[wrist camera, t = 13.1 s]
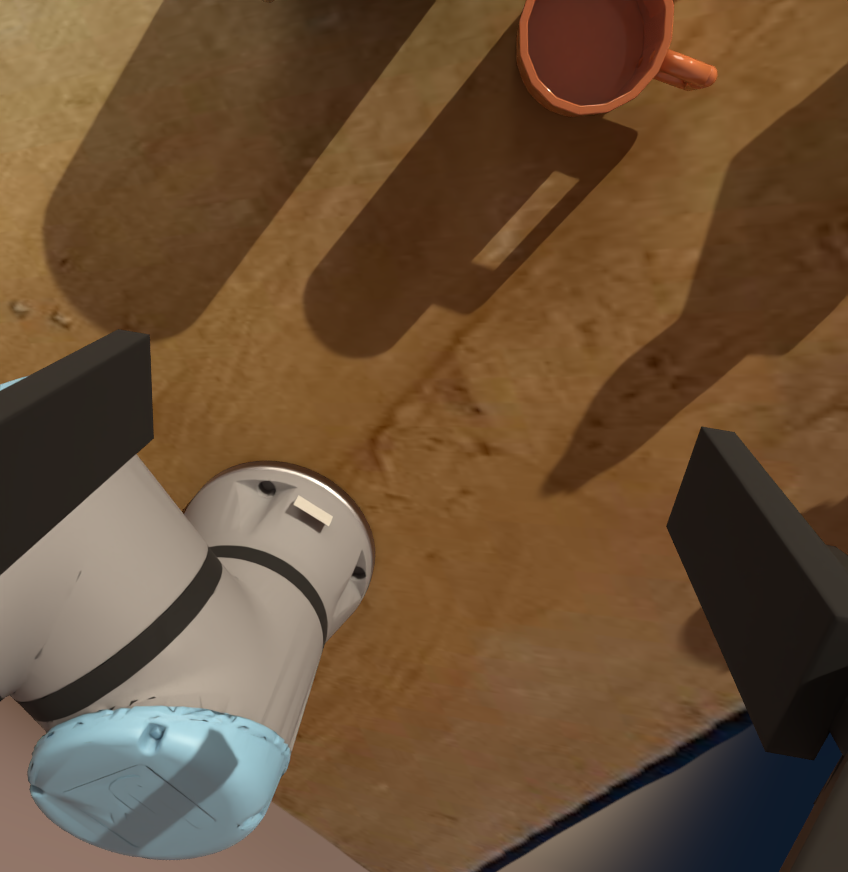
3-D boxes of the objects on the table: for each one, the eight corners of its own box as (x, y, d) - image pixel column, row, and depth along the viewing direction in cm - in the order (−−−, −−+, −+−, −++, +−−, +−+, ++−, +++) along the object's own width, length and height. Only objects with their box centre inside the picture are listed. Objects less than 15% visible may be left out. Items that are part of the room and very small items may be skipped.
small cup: (497, 91, 38) (498, 85, 33) (545, -54, 35) (554, -86, 30) (662, 152, 38) (687, 154, 33) (724, 13, 35) (761, -7, 30)
